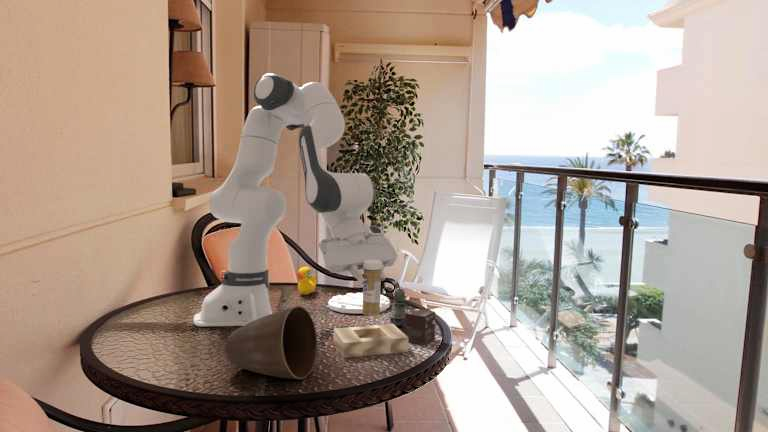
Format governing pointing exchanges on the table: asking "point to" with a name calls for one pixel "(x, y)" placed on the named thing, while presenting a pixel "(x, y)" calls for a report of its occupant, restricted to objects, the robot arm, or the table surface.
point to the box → (420, 326)
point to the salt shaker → (398, 310)
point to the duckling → (306, 281)
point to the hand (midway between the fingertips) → (373, 281)
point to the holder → (370, 340)
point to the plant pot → (276, 344)
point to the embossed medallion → (354, 303)
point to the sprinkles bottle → (372, 287)
